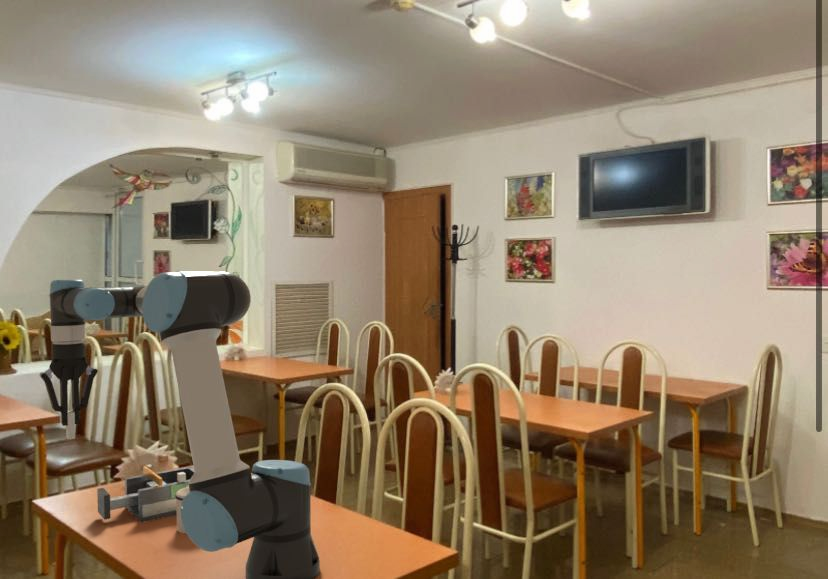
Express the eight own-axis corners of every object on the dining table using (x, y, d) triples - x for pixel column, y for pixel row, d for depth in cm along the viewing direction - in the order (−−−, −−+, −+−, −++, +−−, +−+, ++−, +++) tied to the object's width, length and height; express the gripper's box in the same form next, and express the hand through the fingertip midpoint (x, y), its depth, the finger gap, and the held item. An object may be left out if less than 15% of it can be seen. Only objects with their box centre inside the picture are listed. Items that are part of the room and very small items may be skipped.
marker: (185, 481, 179) (185, 473, 179) (179, 482, 178) (179, 474, 178) (183, 479, 181) (183, 471, 181) (177, 480, 180) (177, 473, 180)
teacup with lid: (189, 538, 162) (189, 489, 162) (168, 529, 168) (167, 482, 168) (232, 523, 172) (231, 477, 171) (210, 515, 177) (209, 470, 177)
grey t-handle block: (175, 509, 178) (175, 476, 178) (108, 523, 168) (107, 488, 168) (158, 495, 189) (157, 464, 189) (94, 508, 179) (93, 475, 179)
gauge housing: (210, 507, 183) (210, 477, 183) (140, 522, 172) (140, 491, 172) (192, 494, 195) (191, 466, 195) (125, 507, 184) (124, 478, 184)
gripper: (93, 339, 175) (95, 431, 176) (35, 343, 167) (38, 439, 168) (100, 341, 169) (102, 436, 170) (41, 345, 161) (43, 445, 162)
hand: (70, 437), depth 169 cm, fingers closed
